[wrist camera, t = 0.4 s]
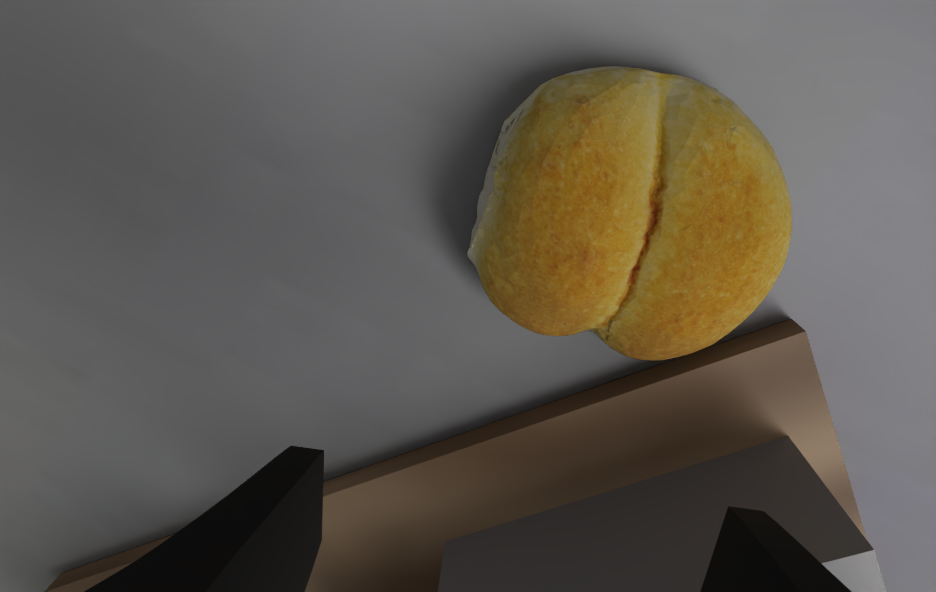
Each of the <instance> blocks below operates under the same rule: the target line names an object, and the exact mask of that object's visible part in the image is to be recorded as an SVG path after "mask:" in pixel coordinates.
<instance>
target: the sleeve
mask: <svg viewBox="0 0 936 592" xmlns="http://www.w3.org/2000/svg"><path fill="white" fill-rule="evenodd" d="M728 506H731V507H738V508H746V509H753V510H760V511H764V512H765V513H767V514H768V515H769V516H770V517H771V518H772V519H774V520H775V521H776V522H777V523H778V524H779V525H780V526H782V527H783V528H784V529H785V530H786V531H787V532H788V533H789V534H790V535H791V536H793V537H794V538H795V539H796V540H797V541H798V542H799V543H800V544H801V545H802V546H803V547H804V548H805V549H806V550H808V551H809V552H810V553H811V554H812V555H813V556H814V557H815V558H816V559H817V560H818V561H819V562H820V563H821V564H823V565H824V566H825V567H826V568H827V569H828V570H829V571H830V572H831V573H832V574H833V575H834V576H835V577H836V578H837V579H839V580H840V581H841V582H842V583H843V584H844V585H845V586H846V587H847V588H848V589H849V590H850V591H852V592H886V589H885V586H884V582H883V579H882V576H881V572H880V569H879V565H878V562H877V558H876V555H875V551H874V549H873V548H872V546H871V545H870V544H869V542H868V541H867V540H866V538H865V537H864V536H863V534H862V533H861V532H860V530H859V529H858V528H857V526H856V525H855V524H854V522H853V521H852V520H851V518H850V517H849V516H848V515H847V513H846V512H845V511H844V509H843V508H842V507H841V505H840V504H839V503H838V501H837V500H836V499H835V497H834V496H833V495H832V493H831V492H830V491H829V489H828V488H827V487H826V485H825V484H824V483H823V481H822V480H821V479H820V477H819V476H818V475H817V473H816V472H815V471H814V469H813V468H812V467H811V465H810V464H809V463H808V461H807V460H806V459H805V457H804V456H803V455H802V453H801V452H800V451H799V449H798V448H797V447H796V445H795V444H794V443H793V441H792V440H791V439H790V437H789V436H786V437H783V438H779V439H776V440H773V441H770V442H766V443H763V444H760V445H757V446H753V447H750V448H747V449H744V450H740V451H737V452H734V453H731V454H728V455H724V456H721V457H718V458H715V459H711V460H708V461H705V462H702V463H698V464H695V465H692V466H689V467H685V468H682V469H679V470H676V471H672V472H669V473H666V474H663V475H659V476H656V477H653V478H650V479H646V480H643V481H640V482H637V483H633V484H630V485H627V486H624V487H621V488H617V489H614V490H611V491H608V492H604V493H601V494H598V495H595V496H591V497H588V498H585V499H582V500H578V501H575V502H572V503H569V504H565V505H562V506H559V507H556V508H552V509H549V510H546V511H543V512H539V513H536V514H533V515H530V516H526V517H523V518H520V519H517V520H514V521H510V522H507V523H504V524H501V525H497V526H494V527H491V528H488V529H484V530H481V531H478V532H475V533H471V534H468V535H465V536H462V537H458V538H455V539H452V540H449V541H445V546H444V553H443V560H442V567H441V573H440V580H439V587H438V592H700V591H701V588H702V585H703V582H704V579H705V576H706V573H707V570H708V567H709V564H710V561H711V557H712V554H713V551H714V548H715V545H716V542H717V539H718V536H719V533H720V530H721V527H722V524H723V521H724V518H725V514H726V511H727V508H728Z"/></svg>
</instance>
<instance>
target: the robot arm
mask: <svg viewBox="0 0 936 592" xmlns="http://www.w3.org/2000/svg"><path fill="white" fill-rule="evenodd" d="M323 470H324V450H318V449H310V448H303V447H296V446H290V447H289V448H287V449H286V450H284V451H283V452H282V453H281V454H279V455H278V456H277V457H275V458H274V459H273V460H272V461H270V462H269V463H268V464H267V465H265V466H264V467H263V468H262V469H260V470H259V471H258V472H257V473H255V474H254V475H253V476H252V477H250V478H249V479H248V480H247V481H245V482H244V483H243V484H241V485H240V486H239V487H238V488H236V489H235V490H234V491H233V492H231V493H230V494H229V495H227V496H226V497H225V498H223V499H222V500H221V501H219V502H218V503H217V504H215V505H214V506H213V507H211V508H210V509H209V510H207V511H206V512H205V513H204V514H202V515H201V516H200V517H198V518H197V519H195V520H194V521H193V522H191V523H190V524H189V525H187V526H186V527H184V528H183V529H181V530H180V531H178V532H177V533H176V534H174V535H173V536H171V537H170V538H168V539H167V540H165V541H164V542H162V543H161V544H160V545H158V546H157V547H155V548H154V549H152V550H151V551H149V552H148V553H147V554H145V555H143V556H142V557H140V558H139V559H137V560H136V561H134V562H133V563H131V564H129V565H128V566H126V567H125V568H123V569H121V570H120V571H118V572H117V573H115V574H113V575H111V576H110V577H108V578H106V579H105V580H103V581H101V582H100V583H98V584H96V585H94V586H93V587H91V588H89V589H88V590H86V591H84V592H305V590H306V587H307V584H308V581H309V578H310V575H311V572H312V569H313V566H314V563H315V560H316V557H317V554H318V551H319V548H320V544H321V541H322V514H323ZM700 592H852V591H850V590H849V589H848V588H847V587H846V586H845V585H844V584H843V583H842V582H841V581H840V580H839V579H837V578H836V577H835V576H834V575H833V574H832V573H831V572H830V571H829V570H828V569H827V568H826V567H825V566H824V565H823V564H821V563H820V562H819V561H818V560H817V559H816V558H815V557H814V556H813V555H812V554H811V553H810V552H809V551H808V550H806V549H805V548H804V547H803V546H802V545H801V544H800V543H799V542H798V541H797V540H796V539H795V538H794V537H793V536H791V535H790V534H789V533H788V532H787V531H786V530H785V529H784V528H783V527H782V526H780V525H779V524H778V523H777V522H776V521H775V520H774V519H772V518H771V517H770V516H769V515H768V514H767V513H765V512H764V511H760V510H753V509H746V508H738V507H731V506H728V508H727V511H726V514H725V518H724V521H723V524H722V527H721V530H720V533H719V536H718V539H717V542H716V545H715V548H714V551H713V554H712V557H711V561H710V564H709V567H708V570H707V573H706V576H705V579H704V582H703V585H702V588H701V591H700Z"/></svg>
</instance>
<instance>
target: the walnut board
mask: <svg viewBox="0 0 936 592" xmlns="http://www.w3.org/2000/svg"><path fill="white" fill-rule="evenodd" d="M786 436H789V437H790V439H791V440H792V441H793V443H794V444H795V445H796V447H797V448H798V449H799V451H800V452H801V453H802V455H803V456H804V457H805V459H806V460H807V461H808V463H809V464H810V465H811V467H812V468H813V469H814V471H815V472H816V473H817V475H818V476H819V477H820V479H821V480H822V481H823V483H824V484H825V485H826V487H827V488H828V489H829V491H830V492H831V493H832V495H833V496H834V497H835V499H836V500H837V501H838V503H839V504H840V505H841V507H842V508H843V509H844V511H845V512H846V513H847V515H848V516H849V517H850V518H851V520H852V521H853V522H854V524H855V525H856V526H857V528H858V529H859V530H860V532H861V533H862V534H863V536H864V537H865V538H866V536H865V533H864V529H863V526H862V522H861V519H860V515H859V512H858V509H857V505H856V502H855V498H854V495H853V491H852V488H851V485H850V481H849V478H848V474H847V471H846V468H845V464H844V461H843V457H842V454H841V450H840V447H839V444H838V440H837V437H836V433H835V430H834V427H833V423H832V420H831V416H830V413H829V409H828V406H827V403H826V399H825V396H824V392H823V389H822V385H821V382H820V379H819V375H818V372H817V368H816V365H815V362H814V358H813V355H812V351H811V348H810V344H809V341H808V338H807V334H806V331H805V330H804V329H802V328H801V327H800V326H799V325H798V324H797V323H796V322H795V321H793V320H792V319H789V320H786V321H784V322H781V323H778V324H775V325H772V326H769V327H766V328H763V329H761V330H758V331H755V332H752V333H749V334H746V335H743V336H741V337H738V338H735V339H732V340H729V341H726V342H723V343H720V344H718V345H715V346H712V347H709V348H706V349H703V350H700V351H698V352H695V353H692V354H689V355H686V356H683V357H680V358H677V359H675V360H672V361H669V362H666V363H663V364H660V365H657V366H655V367H652V368H649V369H646V370H643V371H640V372H637V373H634V374H632V375H629V376H626V377H623V378H620V379H617V380H614V381H612V382H609V383H606V384H603V385H600V386H597V387H594V388H591V389H589V390H586V391H583V392H580V393H577V394H574V395H571V396H569V397H566V398H563V399H560V400H557V401H554V402H551V403H548V404H546V405H543V406H540V407H537V408H534V409H531V410H528V411H526V412H523V413H520V414H517V415H514V416H511V417H508V418H505V419H503V420H500V421H497V422H494V423H491V424H488V425H485V426H483V427H480V428H477V429H474V430H471V431H468V432H465V433H462V434H460V435H457V436H454V437H451V438H448V439H445V440H442V441H439V442H437V443H434V444H431V445H428V446H425V447H422V448H419V449H417V450H414V451H411V452H408V453H405V454H402V455H399V456H396V457H394V458H391V459H388V460H385V461H382V462H379V463H376V464H374V465H371V466H368V467H365V468H362V469H359V470H356V471H353V472H351V473H348V474H345V475H342V476H339V477H336V478H333V479H331V480H328V481H325V482H323V514H322V541H321V544H320V548H319V551H318V554H317V557H316V560H315V563H314V566H313V569H312V572H311V575H310V578H309V581H308V584H307V587H306V590H305V592H438V587H439V580H440V573H441V567H442V560H443V553H444V546H445V541H449V540H452V539H455V538H458V537H462V536H465V535H468V534H471V533H475V532H478V531H481V530H484V529H488V528H491V527H494V526H497V525H501V524H504V523H507V522H510V521H514V520H517V519H520V518H523V517H526V516H530V515H533V514H536V513H539V512H543V511H546V510H549V509H552V508H556V507H559V506H562V505H565V504H569V503H572V502H575V501H578V500H582V499H585V498H588V497H591V496H595V495H598V494H601V493H604V492H608V491H611V490H614V489H617V488H621V487H624V486H627V485H630V484H633V483H637V482H640V481H643V480H646V479H650V478H653V477H656V476H659V475H663V474H666V473H669V472H672V471H676V470H679V469H682V468H685V467H689V466H692V465H695V464H698V463H702V462H705V461H708V460H711V459H715V458H718V457H721V456H724V455H728V454H731V453H734V452H737V451H740V450H744V449H747V448H750V447H753V446H757V445H760V444H763V443H766V442H770V441H773V440H776V439H779V438H783V437H786ZM173 535H174V534H173ZM173 535H170V536H167V537H164V538H161V539H159V540H156V541H153V542H150V543H147V544H144V545H141V546H138V547H136V548H133V549H130V550H127V551H124V552H121V553H118V554H116V555H113V556H110V557H107V558H104V559H101V560H98V561H95V562H93V563H90V564H87V565H84V566H81V567H78V568H75V569H73V570H70V571H67V572H64V573H61V574H60V575H59V576H58V578H57V579H56V580H55V581H54V582H53V583H52V584H51V585H50V586H49V587H48V589H47V590H46V591H45V592H84V591H86V590H88V589H89V588H91V587H93V586H94V585H96V584H98V583H100V582H101V581H103V580H105V579H106V578H108V577H110V576H111V575H113V574H115V573H117V572H118V571H120V570H121V569H123V568H125V567H126V566H128V565H129V564H131V563H133V562H134V561H136V560H137V559H139V558H140V557H142V556H143V555H145V554H147V553H148V552H149V551H151V550H152V549H154V548H155V547H157V546H158V545H160V544H161V543H162V542H164V541H165V540H167V539H168V538H170V537H171V536H173ZM866 540H867V539H866Z"/></svg>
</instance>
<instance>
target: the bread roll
mask: <svg viewBox="0 0 936 592" xmlns="http://www.w3.org/2000/svg"><path fill="white" fill-rule="evenodd" d="M791 231H792V211H791V203H790V196H789V192H788V189H787V185H786V182H785V178H784V175H783V172H782V169H781V167H780V164H779V162H778V160H777V157H776V155H775V153H774V150H773V148H772V147H771V145H770V143H769V142H768V140H767V139H766V138H765V136H764V135H763V134H762V132H761V131H760V130H759V129H758V127H757V126H756V125H755V124H754V123H753V122H752V121H751V120H750V119H749V118H748V117H747V116H746V115H745V113H744V112H743V111H742V110H741V109H740V108H739V107H738V105H737V104H735V103H734V102H733V101H732V100H731V99H729V98H728V97H726V96H725V95H723V94H722V93H720V92H719V91H717V90H716V89H714V88H712V87H710V86H708V85H705V84H703V83H701V82H699V81H696V80H694V79H691V78H688V77H686V76H682V75H676V74H668V73H659V72H655V71H651V70H646V69H641V68H631V67H619V66H606V67H597V68H588V69H583V70H579V71H574V72H570V73H567V74H564V75H561V76H558V77H555V78H552V79H550V80H548V81H546V82H545V83H543V84H541V85H539V86H538V87H537V88H536V89H535V91H534V92H533V93H532V94H531V95H530V96H529V97H528V98H527V99H526V100H525V101H524V102H523V103H522V104H521V105H519V106H518V108H517V109H516V110H515V111H514V112H513V113H512V114H511V115H510V116H509V117H508V118H507V119H506V120H505V121H504V123H503V125H502V129H501V132H500V134H499V137H498V140H497V143H496V146H495V149H494V151H493V154H492V157H491V160H490V163H489V166H488V169H487V172H486V176H485V181H484V186H483V190H482V191H481V193H480V196H479V201H478V204H477V220H476V223H475V225H474V227H473V229H472V232H471V243H470V247H469V250H468V253H467V257H468V258H469V259H470V260H471V261H472V263H473V264H474V266H475V268H476V269H477V271H478V274H479V277H480V280H481V283H482V286H483V288H484V290H485V292H486V294H487V295H488V297H489V299H490V301H491V302H492V303H493V304H494V305H495V306H496V307H497V308H498V309H499V310H500V311H501V312H502V313H503V314H505V315H506V316H507V317H509V318H510V319H511V320H513V321H514V322H516V323H517V324H519V325H520V326H522V327H524V328H526V329H528V330H530V331H533V332H535V333H538V334H542V335H551V336H566V335H573V334H576V333H579V332H582V331H585V330H591V331H593V332H595V333H596V334H597V335H598V336H599V337H600V338H601V339H602V340H603V341H604V342H605V343H606V344H607V345H608V346H610V347H611V348H612V349H614V350H616V351H618V352H620V353H621V354H623V355H625V356H627V357H631V358H635V359H641V360H666V359H671V358H676V357H680V356H684V355H687V354H691V353H694V352H696V351H698V350H701V349H703V348H706V347H708V346H710V345H712V344H714V343H715V342H717V341H718V340H720V339H721V338H723V337H724V336H725V335H727V334H728V333H730V332H731V331H732V330H733V329H735V328H736V327H737V326H738V325H739V324H741V323H742V322H743V321H744V320H745V319H746V318H747V317H748V316H749V315H750V314H751V313H752V312H753V311H754V310H755V309H756V308H757V307H758V306H759V305H760V303H761V302H762V301H763V299H764V298H765V297H766V295H767V294H768V293H769V291H770V290H771V288H772V286H773V285H774V283H775V281H776V280H777V278H778V276H779V274H780V273H781V270H782V268H783V266H784V263H785V261H786V257H787V253H788V249H789V245H790V239H791Z"/></svg>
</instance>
